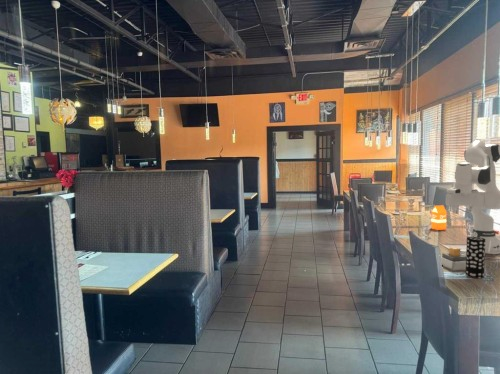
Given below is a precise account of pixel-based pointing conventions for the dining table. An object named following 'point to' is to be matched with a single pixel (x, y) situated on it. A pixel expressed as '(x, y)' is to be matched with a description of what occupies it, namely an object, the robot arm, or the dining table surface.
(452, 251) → the plug
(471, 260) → the white-spotted black cylinder
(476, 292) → the dining table surface
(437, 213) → the orange juice
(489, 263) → the dining table surface
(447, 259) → the bay
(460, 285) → the dining table surface
